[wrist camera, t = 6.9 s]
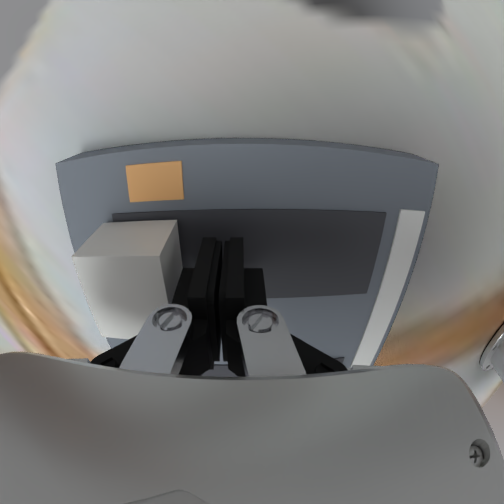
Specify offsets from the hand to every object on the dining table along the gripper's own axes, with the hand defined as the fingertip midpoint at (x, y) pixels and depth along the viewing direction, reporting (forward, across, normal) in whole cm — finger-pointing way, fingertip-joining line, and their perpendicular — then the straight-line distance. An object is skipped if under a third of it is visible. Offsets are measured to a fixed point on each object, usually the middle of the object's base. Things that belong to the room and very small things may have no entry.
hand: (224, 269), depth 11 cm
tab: (+1, +4, 0) cm, 4 cm away
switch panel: (+4, -1, +5) cm, 6 cm away
